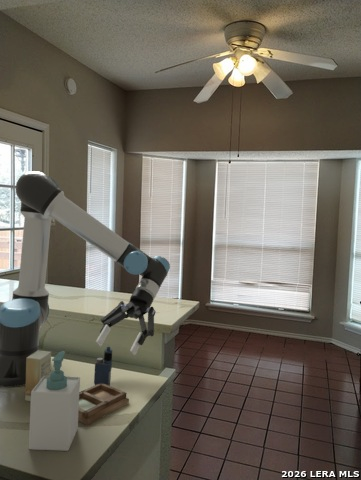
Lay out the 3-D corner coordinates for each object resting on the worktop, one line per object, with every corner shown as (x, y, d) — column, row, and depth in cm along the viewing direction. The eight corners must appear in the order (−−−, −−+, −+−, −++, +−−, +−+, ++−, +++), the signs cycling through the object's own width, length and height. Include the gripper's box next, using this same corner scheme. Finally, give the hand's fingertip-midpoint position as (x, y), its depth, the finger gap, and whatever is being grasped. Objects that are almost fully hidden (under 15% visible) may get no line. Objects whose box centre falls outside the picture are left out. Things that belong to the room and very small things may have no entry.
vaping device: (108, 388, 113) (110, 349, 112) (92, 386, 114) (94, 347, 113) (112, 385, 115) (114, 346, 115) (96, 382, 116) (98, 344, 116)
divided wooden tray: (56, 409, 99) (56, 399, 99) (98, 390, 111) (98, 381, 111) (87, 425, 92) (87, 414, 92) (128, 402, 105) (129, 393, 105)
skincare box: (36, 391, 109) (38, 349, 108) (50, 392, 108) (52, 351, 107) (23, 401, 102) (25, 357, 102) (38, 403, 102) (40, 358, 101)
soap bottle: (78, 429, 90) (81, 351, 89) (68, 451, 82) (72, 365, 81) (41, 427, 90) (45, 349, 89) (28, 449, 81) (31, 363, 80)
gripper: (111, 283, 135) (79, 334, 122) (171, 292, 123) (143, 350, 110) (120, 295, 140) (90, 346, 127) (178, 306, 128) (152, 362, 115)
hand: (114, 348), depth 119 cm, fingers open, 13 cm apart
